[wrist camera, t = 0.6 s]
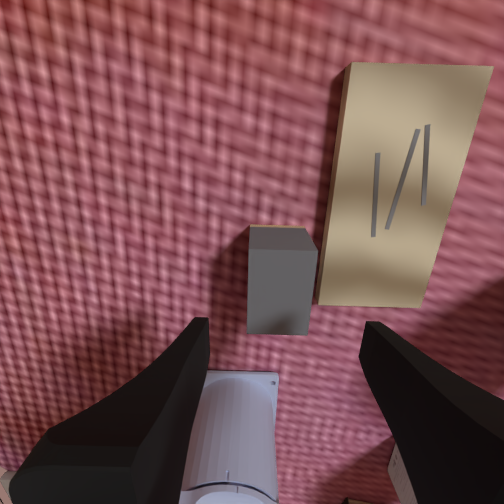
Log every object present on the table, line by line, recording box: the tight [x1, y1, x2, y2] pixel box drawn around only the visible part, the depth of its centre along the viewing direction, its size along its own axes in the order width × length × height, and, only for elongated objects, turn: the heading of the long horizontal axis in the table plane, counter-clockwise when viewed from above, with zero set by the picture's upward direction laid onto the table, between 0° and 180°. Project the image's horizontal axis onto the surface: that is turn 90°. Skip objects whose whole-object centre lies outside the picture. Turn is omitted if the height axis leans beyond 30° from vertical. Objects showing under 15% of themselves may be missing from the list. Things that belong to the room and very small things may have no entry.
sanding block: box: [247, 225, 318, 335], centre depth 19 cm, size 6×4×5 cm, turn 178°
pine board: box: [315, 62, 494, 308], centre depth 19 cm, size 16×8×1 cm, turn 178°
